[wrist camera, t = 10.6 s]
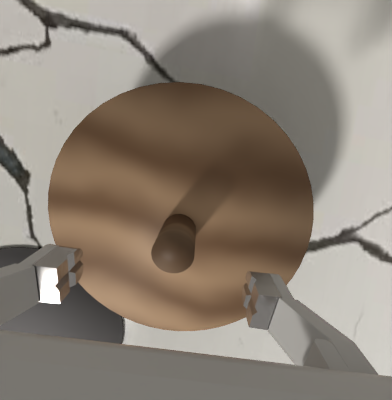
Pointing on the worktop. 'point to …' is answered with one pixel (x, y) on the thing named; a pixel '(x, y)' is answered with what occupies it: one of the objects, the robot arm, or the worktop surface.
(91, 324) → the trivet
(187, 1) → the worktop surface
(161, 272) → the lid
